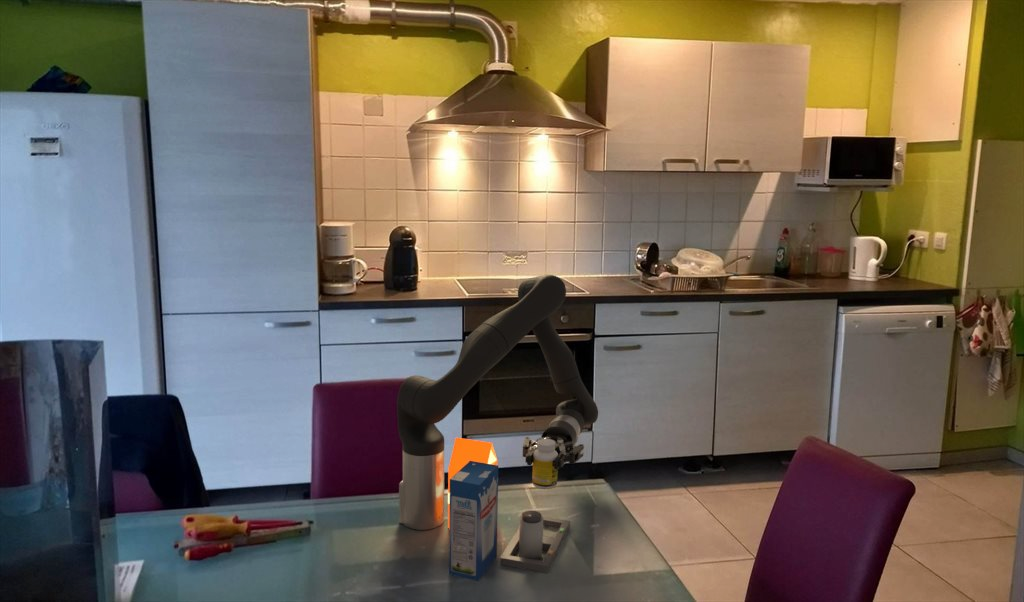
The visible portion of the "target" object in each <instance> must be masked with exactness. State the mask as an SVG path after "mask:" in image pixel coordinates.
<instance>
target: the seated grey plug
mask: <svg viewBox="0 0 1024 602" xmlns="http://www.w3.org/2000/svg"><path fill="white" fill-rule="evenodd" d="M542 516H543V515H542V513H540V512H539V511H536V510H526V511H523V512H522V514H521V516H520V517H519V526H520V533H519V546H518V557H522V558H528V559H533V560H539V561H542V559H543V550H542V545H543V536H544V526H543V517H544V516H543V517H542Z"/></svg>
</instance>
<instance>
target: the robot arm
mask: <svg viewBox="0 0 1024 602" xmlns="http://www.w3.org/2000/svg"><path fill="white" fill-rule="evenodd" d="M517 289H518V290H517V299H518V302H516V303H515V304H513V305H511V306H509V307H507V308H505V309H504V310H502V311H500V312H498V313H496V314H494V315H492V316H490V317H489V318H488V319H486V320H485V321H484V322H482V323H481V324H480V325H478V327H476V328H475V329H474V330H473V331H471V332H470V334H469V335H468V336H467V337H465V340H463V342H462V343H463V344H462V346H461V349H460V353H459V356H458V359H457V361H456V363H455V364H454V366H453V367H452V368H451V369H450V370H449V371H448V372H447V373H446V374H445V375H443V376H442V377H441V378H439V379H437V380H435V379H431V378H429V377H426V376H422V375H417V374H416V375H412V376H409V377H407V378H406V379H404V381H403V382H402V383H401V385H400V386H399V389H398V393H397V399H396V410H397V411H396V412H397V414H396V415H397V429H398V430H397V431H398V435H399V439H400V441H401V445H402V447H401V448H402V480H401V481H400V482H399V483H398V495H399V496H398V499H399V500H398V504H399V507H398V508H399V514H398V516H399V523H400V524H403V525H405V527H408V528H410V529H413V530H418V531H420V530H421V531H423V530H432V529H436V528H437V527H440V526H441V525H442V524H443V523H444V521H445V436H444V435H443V433H442V432H441V431H440V430H439V429H438V427H437V426H436V424H437V423H440V422H441V421H443V420H444V419H445V418H446V417H447V416H448V415H449V414H450V413H451V412H452V411H453V410H454V409H455V408H456V407H457V405H458V404H459V403H460V401H462V400H463V398H464V397H465V396H466V395H467V394H468V393H469V391H470V390H471V389H472V388H473V387H474V386H475V385H476V384H477V383H478V382H479V381H480V380H481V379H482V378H483V377H484V376H485V375H486V374H487V373H488V372H490V371H489V370H491V369H492V368H494V366H496V365H497V364H498V363H499V362H500V361H502V359H503V358H504V357H505V356H507V354H509V352H510V351H512V350H513V349H514V347H515V346H516V345H517V344H519V343H520V341H522V340H523V339H524V338H525V337H526V336H527V335H528V334H529V333H530V332H531V330H532V333H533V335H534V336H535V339H536V340H537V343H538V345H539V347H540V349H541V351H542V354H543V356H544V359H545V362H546V365H547V368H548V371H549V375H550V378H551V381H552V384H553V387H554V389H555V391H556V393H559V394H568V395H569V394H570V395H573V396H574V397H575V398H573V399H569V400H564V401H562V402H560V403H559V404H558V405H556V408H555V418H554V419H552V421H551V422H550V423H549V425H548V426H547V427H546V428H545V429H544V430H543V433H542V434H541V437H538V438H537V439H535V440H533V439H531V437H530V436H524V440H523V444H522V458H525V464H526V465H527V466H532V465H533V453H534V451H535V450H537V441H538V440H540V439H551V440H554V441H555V443H556V445H555V451H556V452H557V453H558V456H557V457H556V459H555V467H554V468H555V469H558V470H559V468H563V466H564V465H565V464H566V463H568V464H570V465H575V463H577V462H578V461H579V460H580V459H582V458H583V457H584V451H585V450H584V449H585V445H584V444H582V443H579V444H578V445H576V444H577V443H578V441H579V438H580V435H581V434H582V432H583V430H584V427H585V426H590V425H593V424H595V423H596V422H597V421H598V417H599V408H598V406H597V403H596V402H595V400H594V399H593V397H592V396H591V394H590V393H589V391H588V389H587V388H586V386H585V384H584V383H583V380H582V378H581V375H580V372H579V369H578V365H577V362H576V360H575V357H574V355H573V352H572V351H571V349H570V348H569V346H568V344H566V342H565V341H564V340H563V338H562V337H561V336H560V334H559V333H558V332H557V330H556V329H555V326H554V325H553V323H552V321H551V320H552V319H551V318H550V315H552V314H553V313H555V312H556V311H558V309H560V308H561V306H562V305H563V304H564V302H565V300H566V295H567V288H566V284H565V282H564V281H563V279H562V278H560V277H559V276H558V275H553V274H542V275H538V276H533V277H529V278H527V279H525V280H523V281H522V282H520V285H519V286H518V288H517Z"/></svg>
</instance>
